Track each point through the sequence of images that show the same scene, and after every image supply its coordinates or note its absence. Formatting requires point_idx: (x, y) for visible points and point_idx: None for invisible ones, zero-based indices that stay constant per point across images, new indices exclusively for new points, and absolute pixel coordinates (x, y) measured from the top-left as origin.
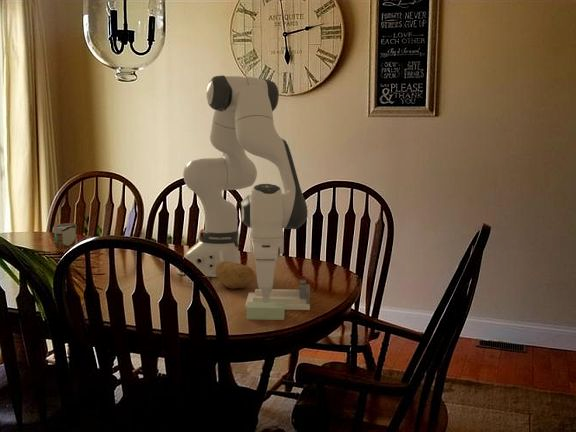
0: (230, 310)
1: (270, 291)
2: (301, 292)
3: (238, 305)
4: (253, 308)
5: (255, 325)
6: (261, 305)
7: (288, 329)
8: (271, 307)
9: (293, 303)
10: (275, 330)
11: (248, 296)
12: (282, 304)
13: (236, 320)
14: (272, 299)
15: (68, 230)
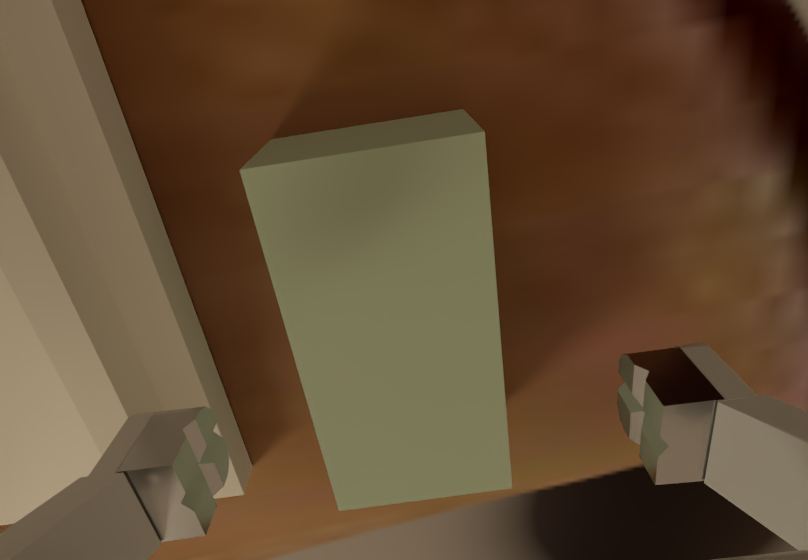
0: (318, 536)
1: (201, 415)
2: None
3: None
4: (507, 433)
5: (637, 325)
6: (426, 390)
7: (766, 7)
8: (480, 285)
9: (10, 73)
10: (779, 139)
11: (14, 519)
12: (335, 181)
13: (527, 463)
14: (95, 329)
15: None
